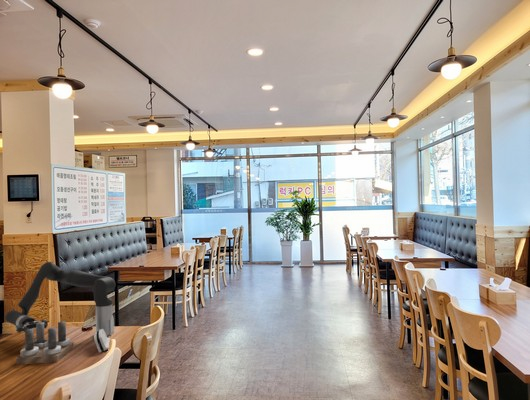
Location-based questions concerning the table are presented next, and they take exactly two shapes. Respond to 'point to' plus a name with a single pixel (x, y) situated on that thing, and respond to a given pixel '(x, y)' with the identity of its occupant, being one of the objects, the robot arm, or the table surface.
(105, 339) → the white arched grooved block
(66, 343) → the upturned partly assembled table
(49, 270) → the robot arm
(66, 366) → the table surface
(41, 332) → the loose leg
